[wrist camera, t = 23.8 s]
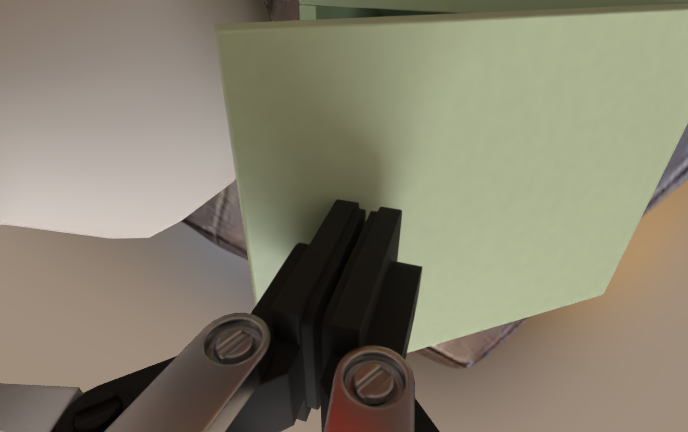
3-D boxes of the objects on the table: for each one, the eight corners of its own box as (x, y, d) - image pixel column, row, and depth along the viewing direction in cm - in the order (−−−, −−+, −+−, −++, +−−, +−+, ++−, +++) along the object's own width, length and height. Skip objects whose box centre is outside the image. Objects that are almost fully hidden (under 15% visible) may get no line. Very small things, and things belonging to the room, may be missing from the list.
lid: (265, 374, 14) (269, 394, 14) (212, 23, 8) (216, 30, 7) (588, 282, 18) (603, 295, 18) (716, 1, 12) (746, 5, 11)
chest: (365, 140, 31) (308, 227, 21) (372, -34, 25) (297, -17, 15) (561, 166, 28) (594, 281, 18) (625, -26, 21) (724, 1, 12)
